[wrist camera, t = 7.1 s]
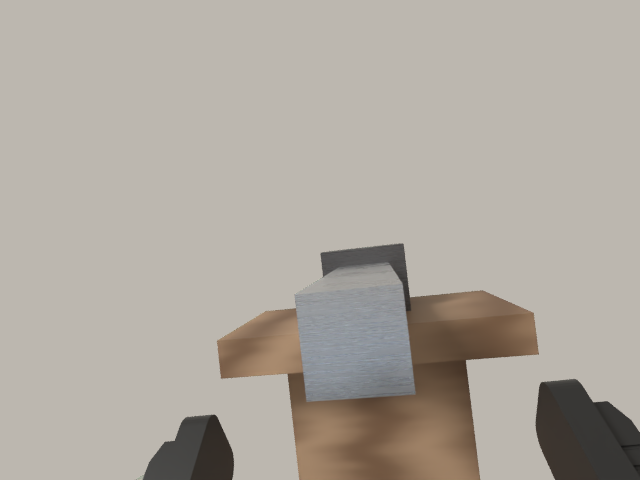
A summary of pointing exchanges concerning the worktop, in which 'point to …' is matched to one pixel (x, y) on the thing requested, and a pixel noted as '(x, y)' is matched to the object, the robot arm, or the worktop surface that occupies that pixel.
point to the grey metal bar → (357, 326)
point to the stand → (392, 411)
